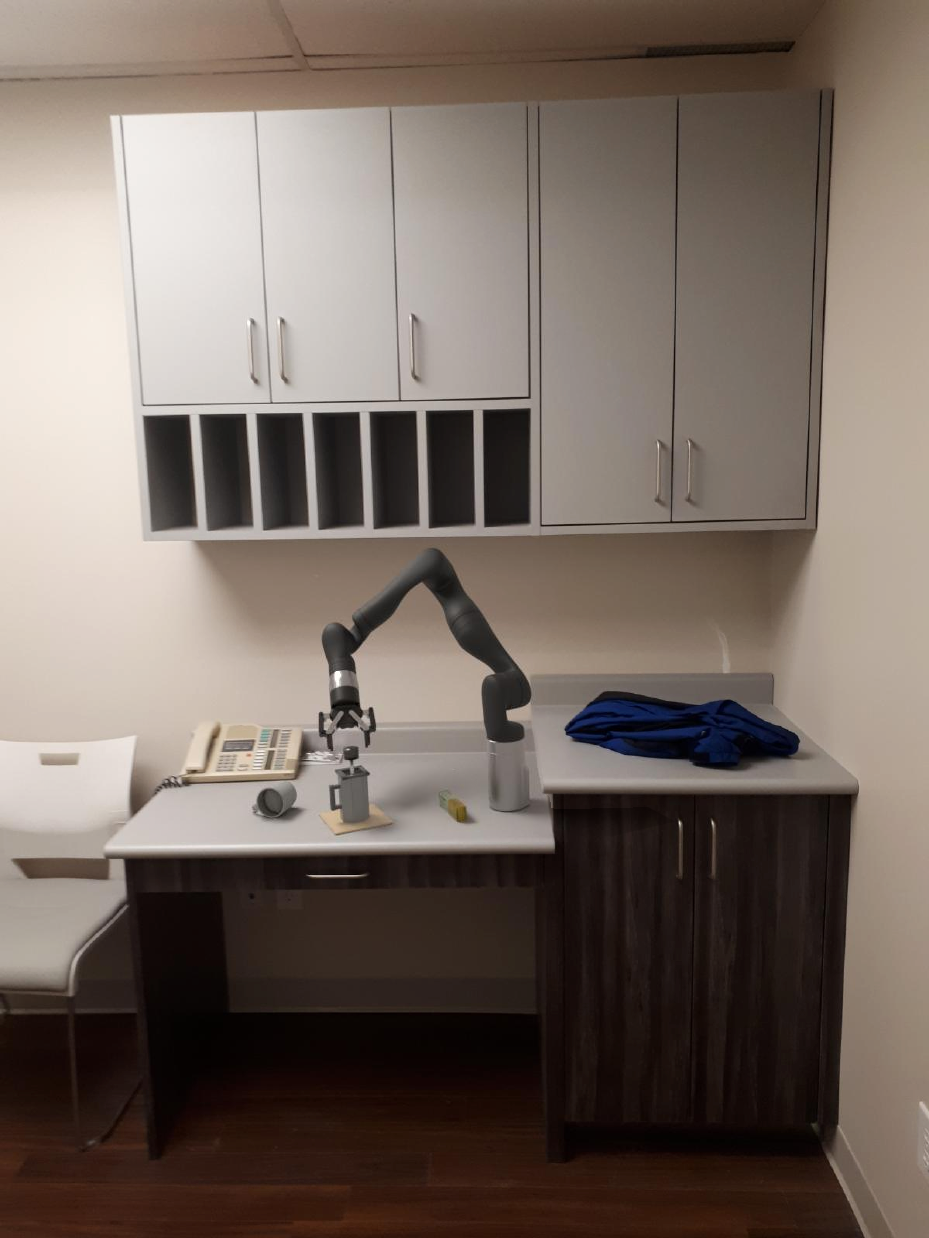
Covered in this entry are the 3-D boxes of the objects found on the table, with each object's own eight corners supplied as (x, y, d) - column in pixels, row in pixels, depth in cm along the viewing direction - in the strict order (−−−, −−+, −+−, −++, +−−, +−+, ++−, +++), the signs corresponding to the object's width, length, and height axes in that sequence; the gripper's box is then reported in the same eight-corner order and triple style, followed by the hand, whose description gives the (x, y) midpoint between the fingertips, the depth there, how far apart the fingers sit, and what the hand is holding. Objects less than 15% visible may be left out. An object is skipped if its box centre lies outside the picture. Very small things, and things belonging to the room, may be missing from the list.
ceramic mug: (300, 806, 226) (297, 777, 225) (285, 819, 218) (282, 788, 217) (261, 805, 229) (259, 775, 228) (245, 817, 221) (243, 787, 220)
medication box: (439, 806, 223) (438, 791, 222) (449, 804, 224) (448, 789, 223) (457, 823, 212) (456, 807, 211) (468, 821, 213) (467, 805, 212)
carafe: (373, 804, 225) (370, 758, 223) (392, 823, 213) (389, 774, 211) (318, 815, 220) (315, 767, 218) (335, 835, 207) (331, 785, 205)
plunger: (359, 800, 218) (355, 745, 216) (363, 804, 215) (360, 748, 212) (344, 802, 216) (341, 747, 214) (349, 807, 213) (345, 751, 211)
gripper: (372, 697, 235) (378, 752, 226) (317, 702, 233) (320, 758, 224) (372, 681, 229) (378, 738, 220) (315, 686, 227) (319, 743, 218)
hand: (349, 748), depth 222 cm, fingers open, 8 cm apart
